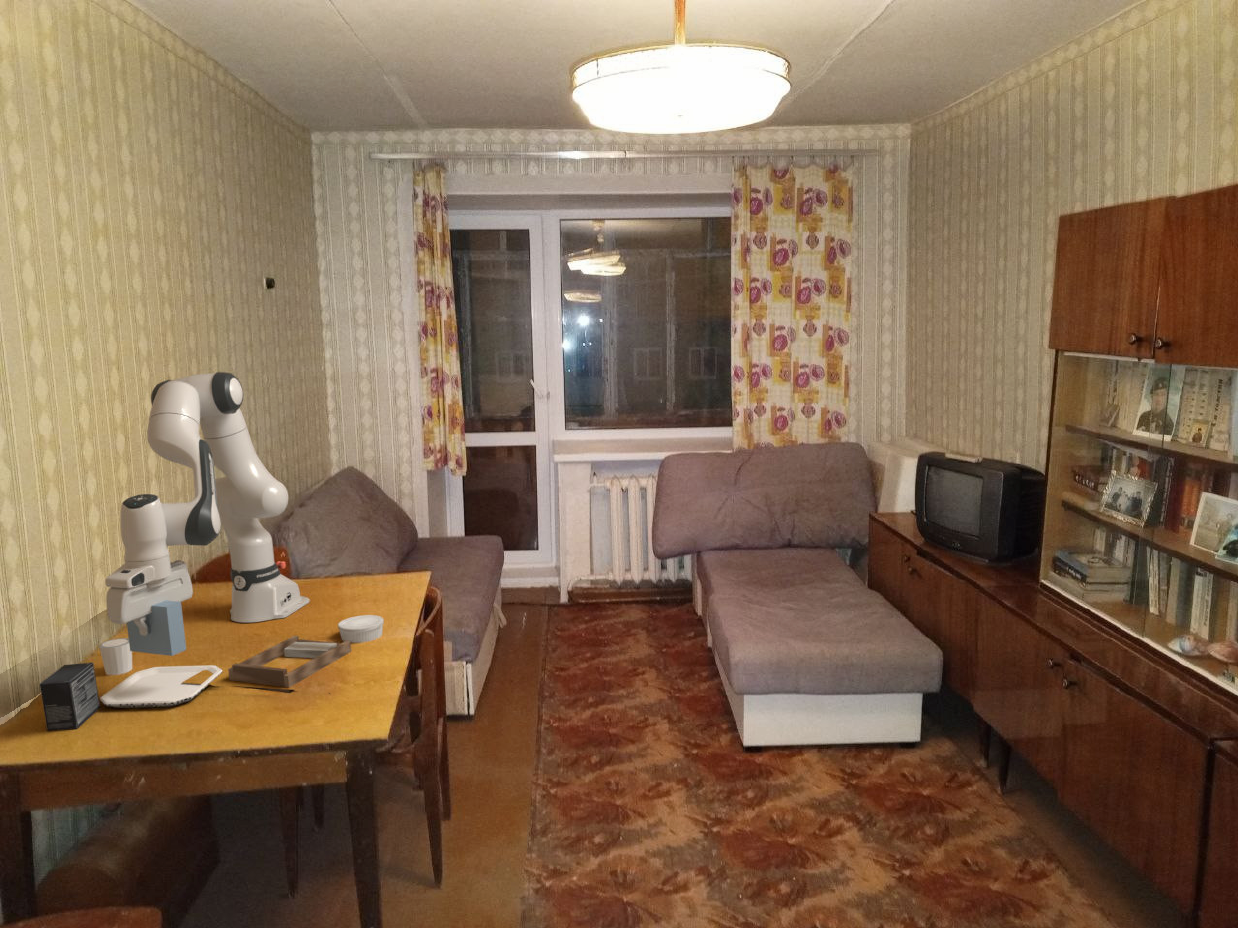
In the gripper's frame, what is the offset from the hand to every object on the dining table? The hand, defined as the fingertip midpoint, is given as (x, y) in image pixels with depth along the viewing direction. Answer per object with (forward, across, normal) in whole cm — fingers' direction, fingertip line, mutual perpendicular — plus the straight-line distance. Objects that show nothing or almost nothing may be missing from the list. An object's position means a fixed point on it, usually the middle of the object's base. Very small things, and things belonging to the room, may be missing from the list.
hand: (155, 630), depth 207 cm
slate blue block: (+5, 0, 0) cm, 5 cm away
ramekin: (+14, -39, +25) cm, 49 cm away
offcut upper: (+13, -25, +21) cm, 35 cm away
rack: (+14, -18, +21) cm, 31 cm away
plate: (+15, 0, 0) cm, 15 cm away
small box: (+14, +17, -7) cm, 23 cm away
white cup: (+14, -7, -21) cm, 26 cm away
